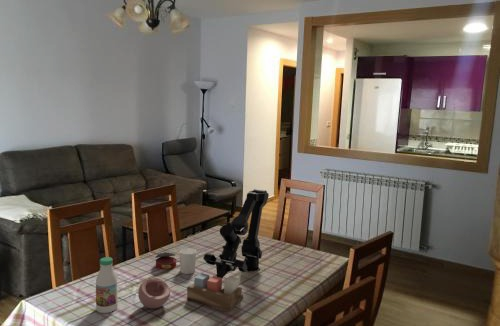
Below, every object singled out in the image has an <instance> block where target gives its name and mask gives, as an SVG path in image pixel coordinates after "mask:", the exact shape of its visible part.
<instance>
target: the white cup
mask: <svg viewBox="0 0 500 326" xmlns="http://www.w3.org/2000/svg"><path fill="white" fill-rule="evenodd" d="M196 262H197V250H196V249H195V248H191V247H188V248H187V247H186V248H185V247H184V248H182V249H180V250H179V267H180V273H182V274H185V275H191V274H193V273H194V272H195V271H196V264H197V263H196Z"/></svg>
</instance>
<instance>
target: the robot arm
mask: <svg viewBox="0 0 500 326" xmlns="http://www.w3.org/2000/svg"><path fill="white" fill-rule="evenodd" d="M269 195H270V194H269V192H268V191H267V190H266V189H256V188H254V189H253V190H250V191H248V192H247V193H246V198H245V201H244V202H243V204H242V207H241V209H240V211H239V214H238V215H237V216H236V217H234V218H233V219H232V221H231V222H226V224H224V225H222V226H221V227H220V229H219V234H220V235H221V237H222V239H223V240H224V241H225V244H224V245H223V246H222V249H223V250H222V251H221V253H219V255H218V257H219V258H218V257H216V255H215V254H214V253H213V254H212V253H208V252H206V253H205V254H204V256H203V258H202V259H203V260H204V261H205V263H206V264H207V265H210V266H215V267H216V277H220V278H222V279H224V278H225V276H226V275H227V274H228V273H229V272H235V271H236V269H237V268H238V269H237V270H239V271H238V272H241V273H247V272H255V271H259V270H261V267H259V266H260V265H259V262H260V259H262V256H263V251H262V249H261V247H260V246H261V245H260V241H259V237H258V236H259V232H260V231H259V229H260V226H261V219H262V212H263V208H264V207H265V206H266V204H267V203H268V200H269V198H270V197H269ZM249 220H250V222H249V223H248V221H249ZM246 234H247V236H246V238H244V239H243V240H242V238H241V236H242V237H243V236H245V235H246ZM240 244H242V245H241V248H240V249H241V257H244V259H243V260H240V259H237V256H238V253H237V251H238V249H239V246H240Z"/></svg>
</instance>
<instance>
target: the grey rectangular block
mask: <svg viewBox="0 0 500 326" xmlns="http://www.w3.org/2000/svg"><path fill="white" fill-rule="evenodd" d="M209 279H210V274H207V273H202V272H200V273H199V274H197V275H196V276H194V282H193V283H194V286H197V287H201V288H205V289H206V288H207V280H209Z"/></svg>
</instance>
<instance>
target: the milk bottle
mask: <svg viewBox="0 0 500 326" xmlns="http://www.w3.org/2000/svg"><path fill="white" fill-rule="evenodd" d="M113 259H114V258H112V257H111V256H109V257H108V256H107V257H106V256H105V257H102V258H100V259H99V266H100V267H99V271H98V274H97V276H96V278H95V307H96V308H95V309H96V311H97V313H100V314H109V312H110V313H112V311H113V312H114V311H116V310H117V309H116V308H118V276H117V273H116V272H115V270H114V266H113V264H114V263H113V261H114V260H113Z"/></svg>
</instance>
